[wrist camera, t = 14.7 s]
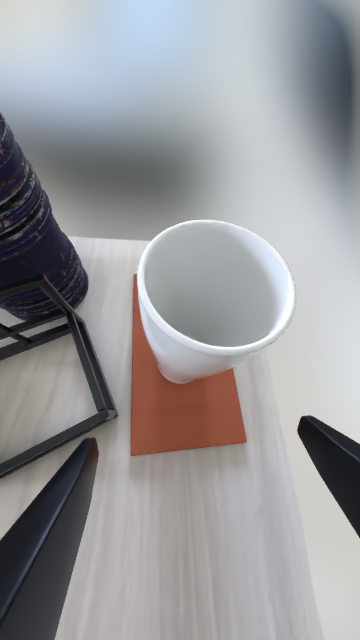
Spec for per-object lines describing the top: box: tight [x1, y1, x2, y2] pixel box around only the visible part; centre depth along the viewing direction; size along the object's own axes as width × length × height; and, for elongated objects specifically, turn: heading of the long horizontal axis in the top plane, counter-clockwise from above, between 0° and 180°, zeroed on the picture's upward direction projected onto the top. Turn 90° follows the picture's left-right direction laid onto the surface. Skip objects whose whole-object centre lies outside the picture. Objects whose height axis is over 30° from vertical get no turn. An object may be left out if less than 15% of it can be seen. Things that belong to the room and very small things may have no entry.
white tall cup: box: [137, 220, 296, 384], centre depth 15 cm, size 7×7×15 cm
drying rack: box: [0, 274, 118, 479], centre depth 15 cm, size 11×11×9 cm
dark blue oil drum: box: [0, 112, 88, 321], centre depth 17 cm, size 10×10×15 cm
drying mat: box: [131, 274, 247, 456], centre depth 22 cm, size 20×11×1 cm, turn 5°
